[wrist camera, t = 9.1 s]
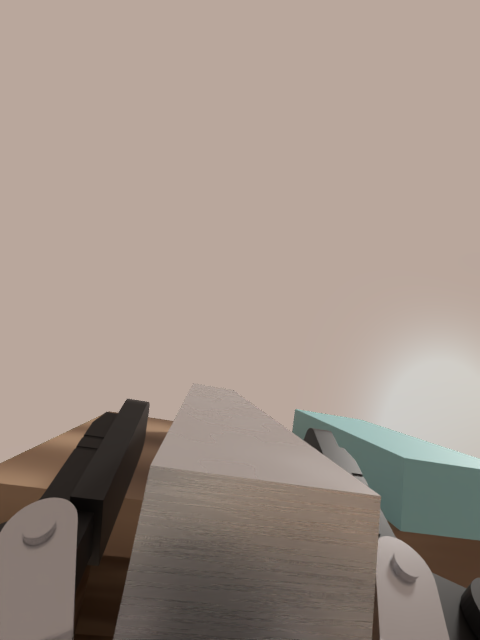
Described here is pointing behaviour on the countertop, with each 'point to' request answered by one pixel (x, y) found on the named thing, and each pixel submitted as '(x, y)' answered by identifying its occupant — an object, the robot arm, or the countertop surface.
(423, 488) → the teal base block
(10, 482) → the walnut shelf
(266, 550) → the metal bar
